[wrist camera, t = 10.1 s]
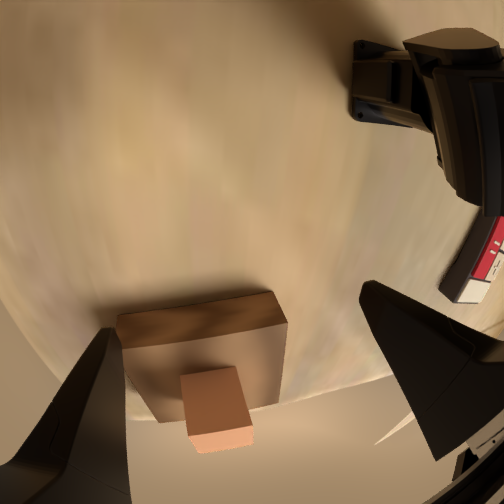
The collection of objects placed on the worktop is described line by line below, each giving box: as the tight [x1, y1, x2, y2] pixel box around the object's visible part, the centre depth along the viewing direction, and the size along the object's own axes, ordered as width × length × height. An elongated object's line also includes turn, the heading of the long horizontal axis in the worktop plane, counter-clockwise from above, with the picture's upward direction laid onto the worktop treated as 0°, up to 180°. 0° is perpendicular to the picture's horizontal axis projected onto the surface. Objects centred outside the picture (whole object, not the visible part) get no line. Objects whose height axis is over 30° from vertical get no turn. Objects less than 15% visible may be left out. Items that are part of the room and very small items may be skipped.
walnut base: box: [116, 291, 288, 423], centre depth 26 cm, size 14×14×4 cm
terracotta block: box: [180, 366, 253, 454], centre depth 22 cm, size 5×5×6 cm
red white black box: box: [438, 207, 504, 304], centre depth 32 cm, size 11×4×15 cm
